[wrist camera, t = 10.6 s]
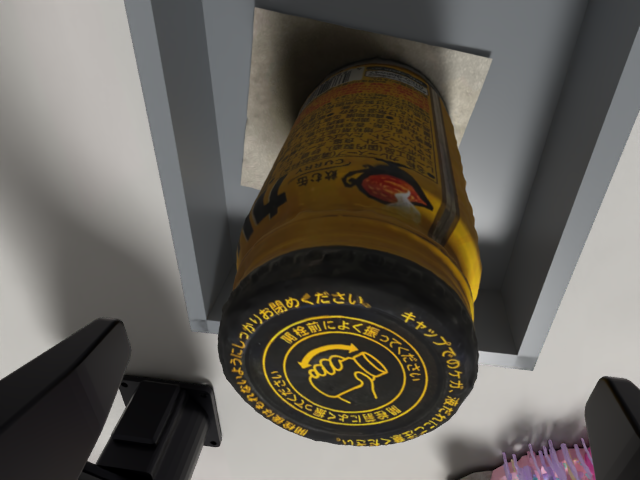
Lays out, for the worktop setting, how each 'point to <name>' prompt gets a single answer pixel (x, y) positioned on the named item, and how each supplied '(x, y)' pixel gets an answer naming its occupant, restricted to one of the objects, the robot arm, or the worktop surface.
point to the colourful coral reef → (544, 465)
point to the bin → (475, 148)
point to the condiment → (354, 235)
